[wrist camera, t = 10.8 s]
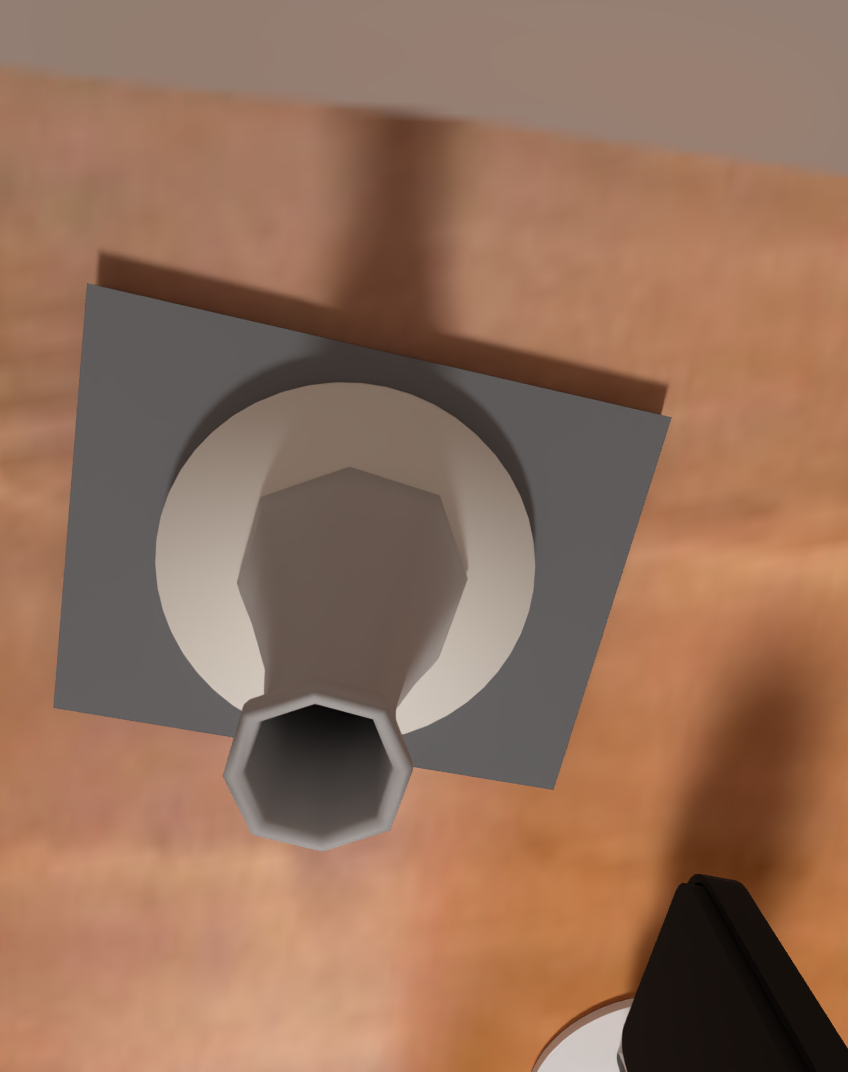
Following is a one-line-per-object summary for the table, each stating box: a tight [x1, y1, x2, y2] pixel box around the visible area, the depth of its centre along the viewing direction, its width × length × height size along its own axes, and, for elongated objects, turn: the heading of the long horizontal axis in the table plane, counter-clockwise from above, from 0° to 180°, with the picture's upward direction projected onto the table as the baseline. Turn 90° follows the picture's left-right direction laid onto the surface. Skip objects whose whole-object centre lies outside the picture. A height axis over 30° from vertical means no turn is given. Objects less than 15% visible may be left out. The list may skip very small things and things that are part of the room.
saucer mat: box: [54, 283, 672, 790], centre depth 21 cm, size 18×14×2 cm
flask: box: [223, 467, 468, 852], centre depth 16 cm, size 7×7×10 cm
